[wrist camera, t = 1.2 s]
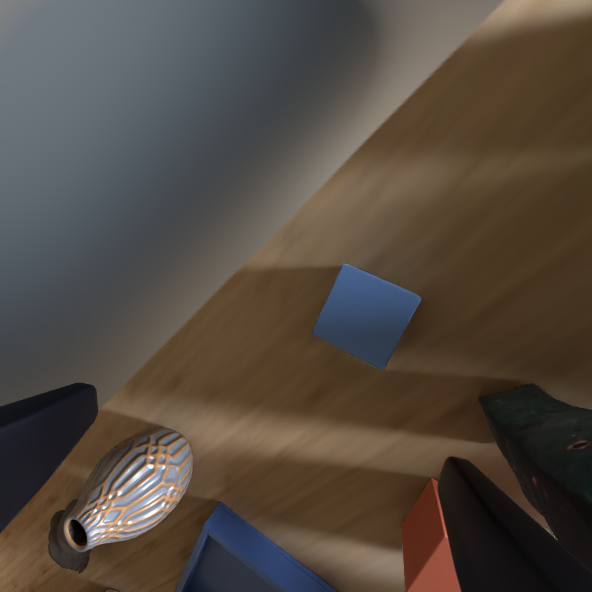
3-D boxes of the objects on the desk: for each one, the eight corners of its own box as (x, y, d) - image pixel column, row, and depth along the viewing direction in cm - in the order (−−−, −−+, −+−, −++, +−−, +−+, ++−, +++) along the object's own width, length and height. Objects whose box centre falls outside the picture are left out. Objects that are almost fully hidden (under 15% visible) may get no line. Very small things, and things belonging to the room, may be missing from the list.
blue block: (413, 292, 19) (422, 297, 14) (383, 350, 19) (383, 371, 15) (352, 265, 20) (342, 263, 15) (326, 321, 21) (310, 333, 16)
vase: (208, 426, 25) (117, 504, 16) (203, 497, 25) (114, 606, 17) (147, 407, 27) (39, 467, 18) (144, 473, 27) (39, 560, 19)
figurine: (99, 553, 31) (149, 512, 27) (54, 599, 27) (105, 560, 23) (67, 506, 32) (111, 460, 28) (18, 544, 28) (61, 496, 24)
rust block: (499, 517, 18) (535, 593, 14) (464, 567, 19) (487, 652, 15) (431, 476, 19) (443, 534, 15) (400, 525, 20) (404, 592, 16)
